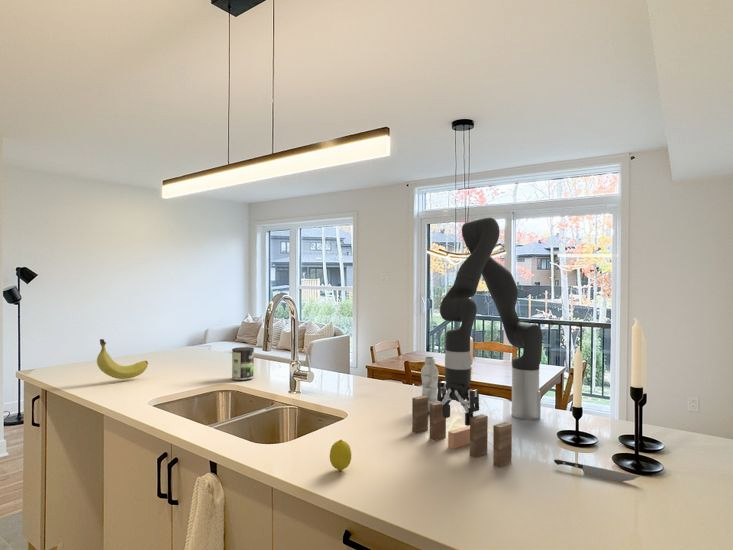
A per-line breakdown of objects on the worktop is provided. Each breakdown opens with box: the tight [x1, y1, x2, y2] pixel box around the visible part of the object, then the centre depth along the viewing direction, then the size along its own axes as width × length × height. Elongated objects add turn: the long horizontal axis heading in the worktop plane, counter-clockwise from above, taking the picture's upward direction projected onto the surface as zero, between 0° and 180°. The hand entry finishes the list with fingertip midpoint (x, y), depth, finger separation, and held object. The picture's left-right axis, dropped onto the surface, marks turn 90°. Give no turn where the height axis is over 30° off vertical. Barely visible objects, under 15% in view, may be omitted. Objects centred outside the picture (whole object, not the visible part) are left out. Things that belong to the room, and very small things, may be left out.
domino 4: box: [469, 413, 489, 459], centre depth 125 cm, size 2×5×11 cm, turn 126°
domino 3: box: [447, 425, 470, 450], centre depth 133 cm, size 2×5×11 cm
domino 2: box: [428, 401, 447, 442], centre depth 138 cm, size 2×5×11 cm, turn 125°
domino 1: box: [411, 395, 429, 434], centre depth 144 cm, size 2×5×11 cm, turn 126°
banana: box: [96, 338, 149, 380], centre depth 214 cm, size 23×6×20 cm, turn 140°
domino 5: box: [492, 421, 513, 469], centre depth 118 cm, size 2×5×11 cm, turn 125°
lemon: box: [329, 439, 352, 472], centre depth 114 cm, size 6×6×8 cm
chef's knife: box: [553, 459, 641, 482], centre depth 111 cm, size 19×1×3 cm, turn 59°
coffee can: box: [231, 346, 255, 381], centre depth 219 cm, size 10×10×14 cm
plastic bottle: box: [420, 356, 440, 414], centre depth 165 cm, size 6×7×20 cm
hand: (457, 421), depth 131 cm, fingers open, 8 cm apart
